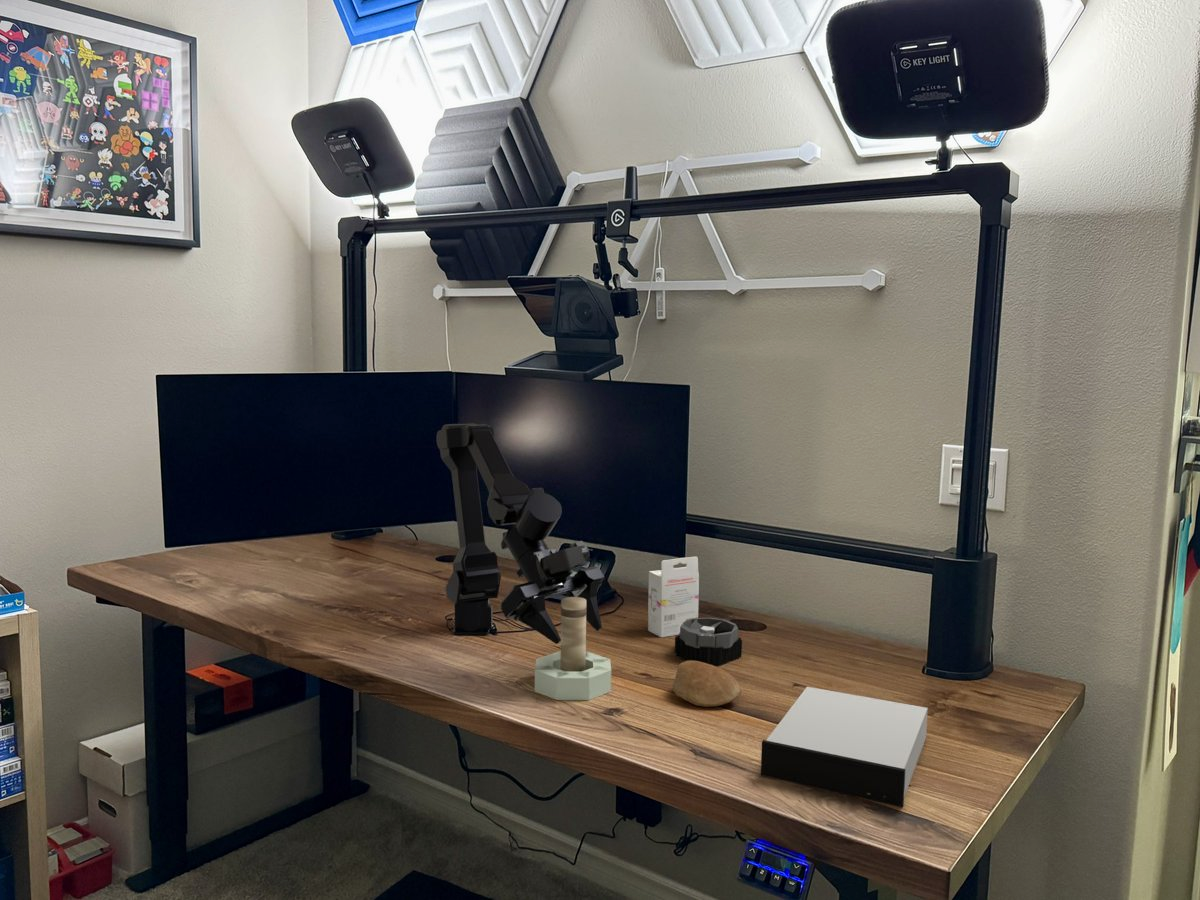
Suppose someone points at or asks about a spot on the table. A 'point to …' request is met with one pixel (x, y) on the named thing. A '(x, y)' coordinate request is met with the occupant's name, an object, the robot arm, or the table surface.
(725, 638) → the cpu cooler
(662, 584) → the ink cartridge box
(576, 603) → the maple peg
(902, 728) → the disc drive
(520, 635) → the table surface
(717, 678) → the stone
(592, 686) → the sage ashtray
